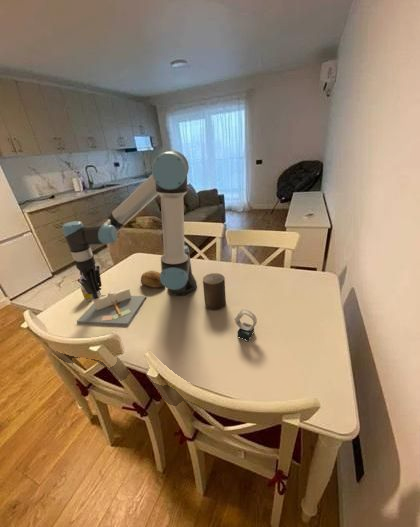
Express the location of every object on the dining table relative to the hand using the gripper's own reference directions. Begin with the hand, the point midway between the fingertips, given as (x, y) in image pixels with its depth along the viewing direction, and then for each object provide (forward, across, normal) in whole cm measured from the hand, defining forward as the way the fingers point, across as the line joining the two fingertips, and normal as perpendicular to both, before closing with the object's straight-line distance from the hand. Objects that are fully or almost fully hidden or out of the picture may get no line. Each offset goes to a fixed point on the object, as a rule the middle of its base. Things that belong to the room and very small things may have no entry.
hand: (99, 302), depth 111 cm
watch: (+3, +13, +68) cm, 69 cm away
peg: (+1, +2, +9) cm, 10 cm away
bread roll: (+4, -21, +18) cm, 28 cm away
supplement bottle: (+3, -8, -11) cm, 14 cm away
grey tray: (+3, +1, +7) cm, 8 cm away
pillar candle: (+3, -6, +54) cm, 55 cm away
